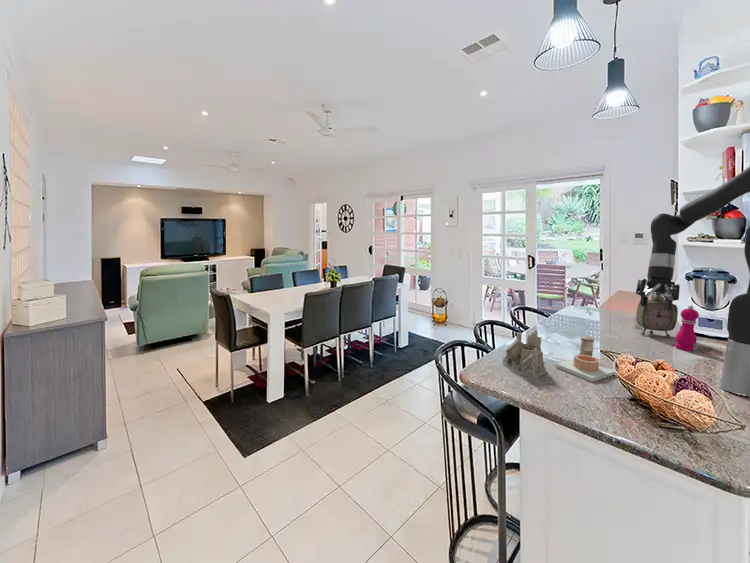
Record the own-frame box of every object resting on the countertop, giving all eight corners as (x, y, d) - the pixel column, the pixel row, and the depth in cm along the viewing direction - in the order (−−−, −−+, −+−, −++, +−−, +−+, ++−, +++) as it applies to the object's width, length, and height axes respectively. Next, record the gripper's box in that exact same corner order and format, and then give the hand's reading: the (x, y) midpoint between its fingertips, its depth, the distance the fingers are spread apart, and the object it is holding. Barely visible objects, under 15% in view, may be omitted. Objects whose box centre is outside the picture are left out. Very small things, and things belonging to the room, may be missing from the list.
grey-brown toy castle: (507, 356, 144) (510, 322, 141) (550, 368, 134) (554, 331, 131) (493, 370, 133) (496, 333, 129) (539, 384, 123) (543, 344, 119)
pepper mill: (699, 352, 152) (706, 307, 149) (680, 350, 154) (687, 306, 151) (688, 346, 159) (694, 304, 156) (670, 345, 161) (676, 303, 158)
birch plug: (594, 360, 142) (596, 339, 140) (587, 361, 140) (589, 340, 138) (583, 356, 146) (585, 335, 144) (576, 358, 144) (578, 337, 142)
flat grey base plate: (616, 375, 127) (617, 362, 126) (591, 381, 121) (593, 368, 121) (579, 361, 140) (581, 350, 139) (556, 367, 134) (557, 355, 133)
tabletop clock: (639, 336, 175) (646, 287, 171) (632, 331, 184) (638, 284, 180) (674, 338, 171) (681, 288, 167) (665, 333, 180) (671, 286, 176)
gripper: (649, 262, 129) (643, 306, 128) (688, 269, 128) (682, 312, 128) (635, 264, 136) (629, 305, 136) (672, 270, 136) (666, 311, 135)
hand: (655, 308), depth 132 cm, fingers open, 8 cm apart
